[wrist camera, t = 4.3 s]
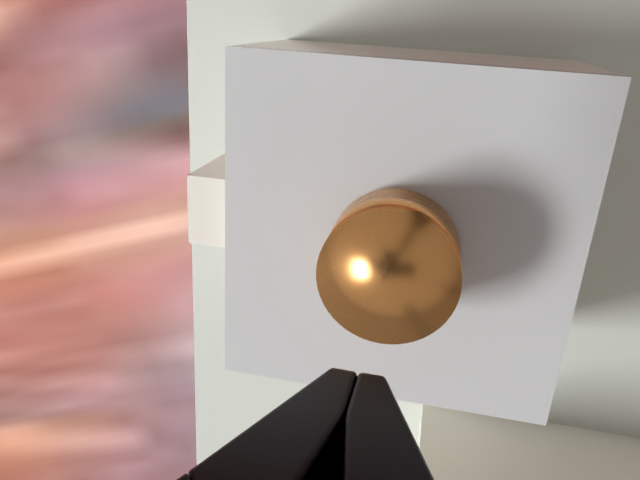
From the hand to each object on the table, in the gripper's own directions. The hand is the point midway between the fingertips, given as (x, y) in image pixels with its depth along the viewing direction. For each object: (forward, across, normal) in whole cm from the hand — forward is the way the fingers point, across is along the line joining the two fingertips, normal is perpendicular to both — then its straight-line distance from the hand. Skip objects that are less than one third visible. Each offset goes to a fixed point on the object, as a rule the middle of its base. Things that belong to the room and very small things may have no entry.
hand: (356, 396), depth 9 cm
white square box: (+12, 0, 0) cm, 12 cm away
